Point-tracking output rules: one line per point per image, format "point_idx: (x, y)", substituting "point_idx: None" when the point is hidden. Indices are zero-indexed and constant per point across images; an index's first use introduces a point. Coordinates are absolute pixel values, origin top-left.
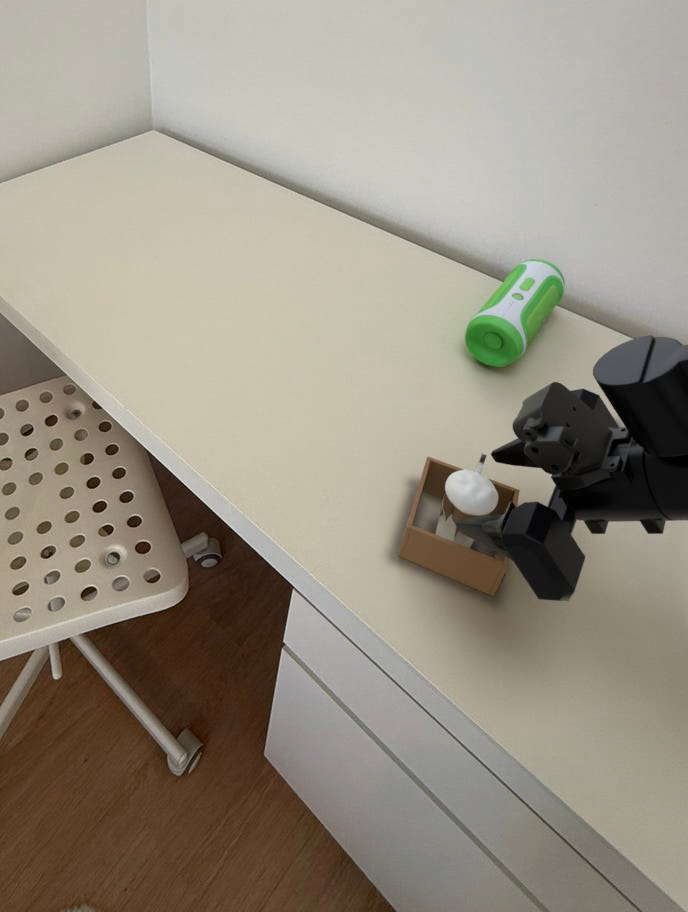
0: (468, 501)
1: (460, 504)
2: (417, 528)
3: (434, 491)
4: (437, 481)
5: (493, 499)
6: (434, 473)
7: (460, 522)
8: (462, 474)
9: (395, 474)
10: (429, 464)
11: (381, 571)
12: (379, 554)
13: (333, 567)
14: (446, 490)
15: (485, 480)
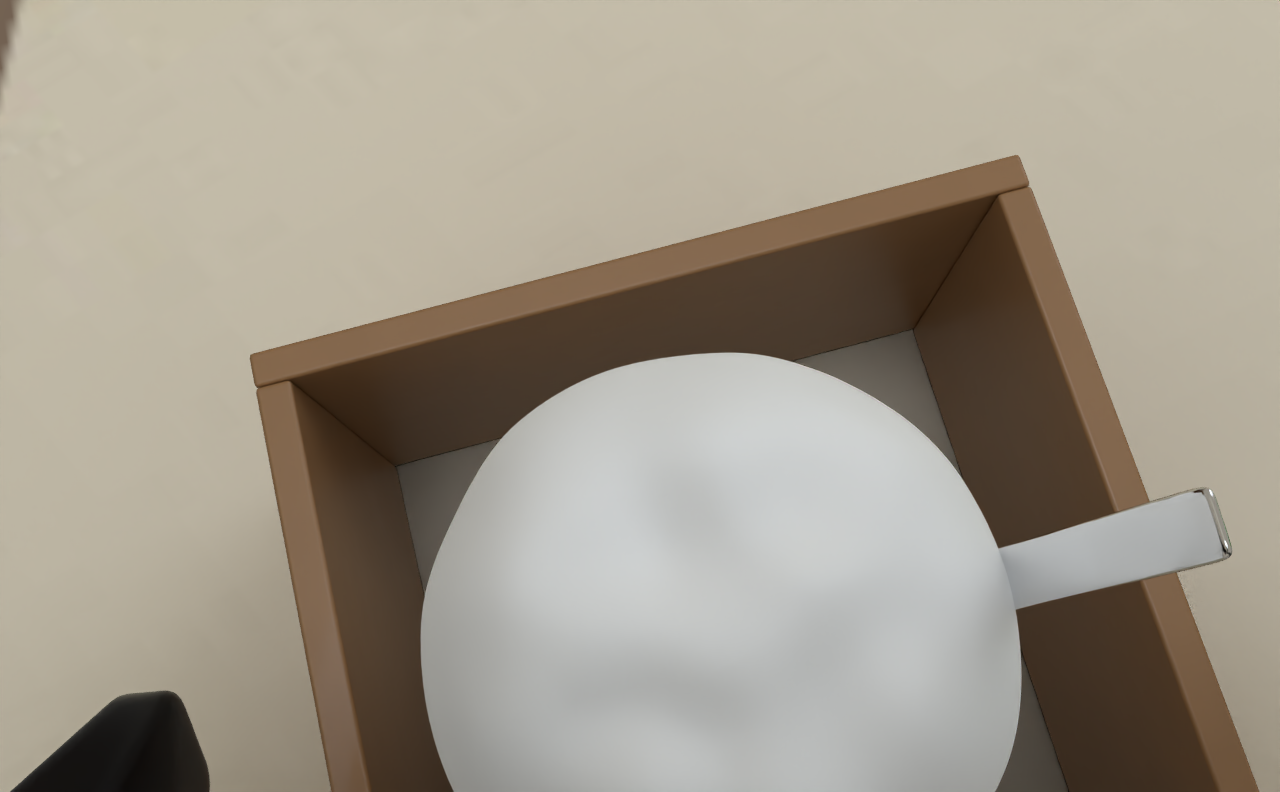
0: (474, 680)
1: (436, 618)
2: (287, 426)
3: (948, 398)
4: (975, 363)
5: None
6: (979, 301)
7: (86, 739)
8: (796, 449)
9: (900, 148)
10: (950, 205)
11: (211, 425)
12: None
13: (66, 205)
14: (527, 414)
15: (912, 714)
